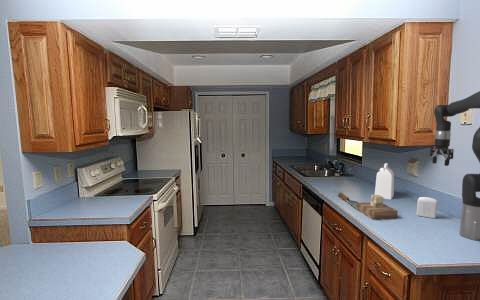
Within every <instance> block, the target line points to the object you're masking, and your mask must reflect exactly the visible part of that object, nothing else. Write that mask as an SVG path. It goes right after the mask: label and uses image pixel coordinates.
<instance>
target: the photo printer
mask: <svg viewBox="0 0 480 300" xmlns="http://www.w3.org/2000/svg"><path fill="white" fill-rule="evenodd" d="M416 203H417V204H416V212H415V214H416V216H418V217H423V218H430V219H436V218H437V209H438V200H437V199H435V198H433V197H429V196H422V197H421V196H420V197H418V199H417V202H416Z"/></svg>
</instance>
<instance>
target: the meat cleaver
mask: <svg viewBox="0 0 480 300" xmlns="http://www.w3.org/2000/svg"><path fill="white" fill-rule="evenodd" d="M337 196H338V197H339V198H340V199H341V200H342V201H344V202H347V203H348V204H350V205H351V206H353V208H355V209H356V210H357V209H358V208H357V203H360V202H359V201H355V200H351V199H350V198H349V196H346V195H345V194H344V193H342V192H338V194H337Z"/></svg>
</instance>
